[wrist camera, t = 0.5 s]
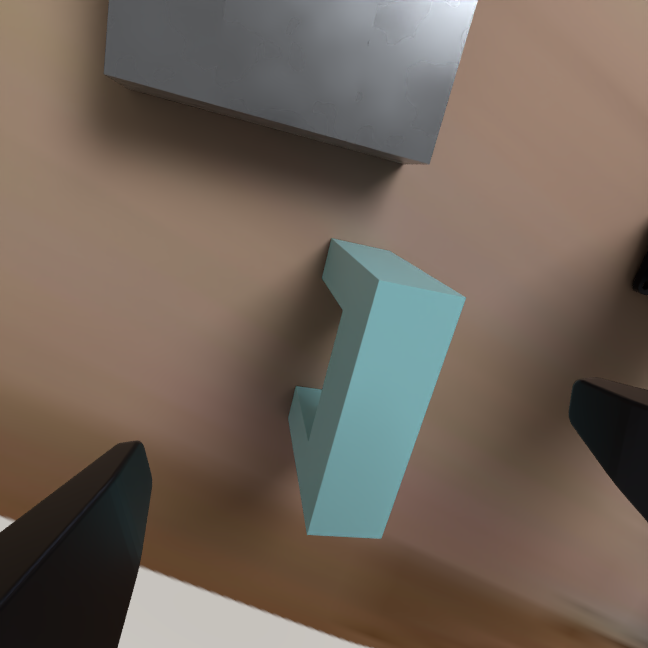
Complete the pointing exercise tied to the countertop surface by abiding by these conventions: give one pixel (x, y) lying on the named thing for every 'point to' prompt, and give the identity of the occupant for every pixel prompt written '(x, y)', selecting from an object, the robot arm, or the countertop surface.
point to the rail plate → (300, 64)
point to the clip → (369, 389)
